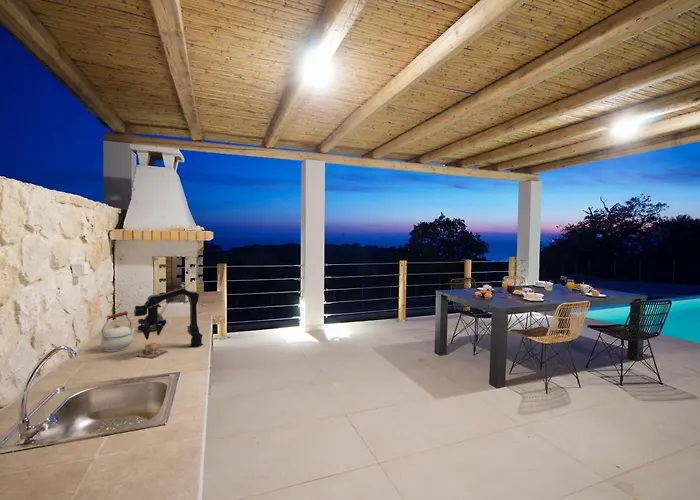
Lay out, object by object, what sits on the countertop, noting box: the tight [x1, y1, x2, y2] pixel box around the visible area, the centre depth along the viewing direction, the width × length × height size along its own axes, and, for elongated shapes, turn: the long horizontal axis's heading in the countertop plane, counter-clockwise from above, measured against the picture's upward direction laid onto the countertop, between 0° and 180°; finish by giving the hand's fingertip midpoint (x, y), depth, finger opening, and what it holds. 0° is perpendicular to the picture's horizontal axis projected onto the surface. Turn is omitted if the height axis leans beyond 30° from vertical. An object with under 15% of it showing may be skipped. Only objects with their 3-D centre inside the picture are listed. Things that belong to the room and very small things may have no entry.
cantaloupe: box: [143, 312, 164, 332], centre depth 265 cm, size 14×14×15 cm
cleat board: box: [136, 348, 168, 359], centre depth 213 cm, size 12×12×4 cm
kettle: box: [100, 311, 136, 353], centre depth 223 cm, size 25×18×25 cm
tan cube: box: [144, 342, 160, 354], centre depth 213 cm, size 6×5×6 cm
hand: (152, 337), depth 213 cm, fingers open, 9 cm apart
